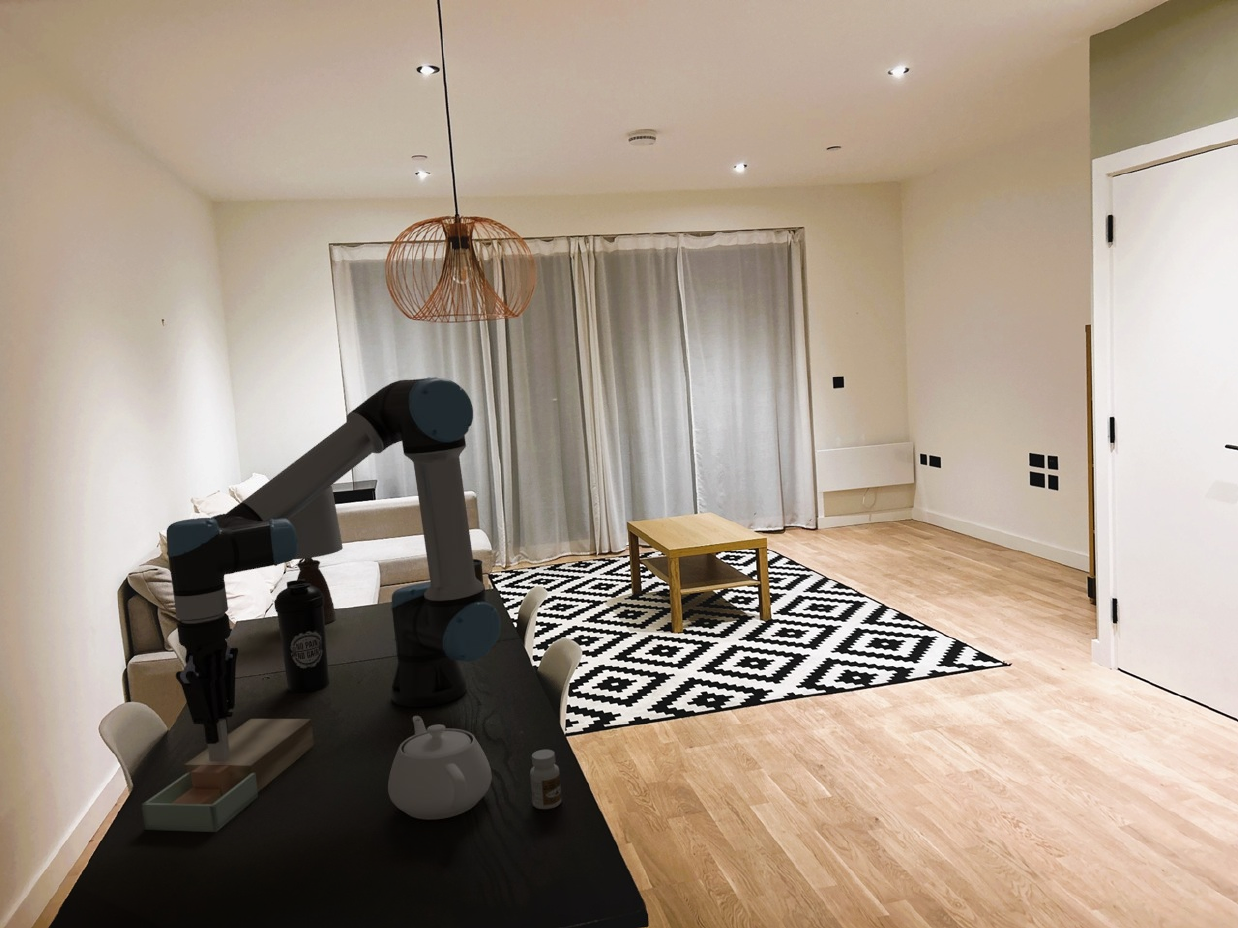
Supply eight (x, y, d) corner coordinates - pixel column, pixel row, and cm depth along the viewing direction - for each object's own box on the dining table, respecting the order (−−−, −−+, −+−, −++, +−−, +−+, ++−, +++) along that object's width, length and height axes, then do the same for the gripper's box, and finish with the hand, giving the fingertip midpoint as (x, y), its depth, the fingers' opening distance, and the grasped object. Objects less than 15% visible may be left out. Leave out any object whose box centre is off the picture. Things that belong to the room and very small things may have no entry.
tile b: (199, 804, 138) (201, 820, 138) (220, 788, 143) (221, 804, 143) (170, 803, 139) (172, 819, 139) (191, 788, 144) (193, 803, 144)
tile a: (229, 765, 145) (219, 772, 143) (232, 795, 146) (223, 802, 143) (200, 765, 146) (190, 772, 144) (204, 794, 147) (194, 802, 144)
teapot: (516, 821, 133) (510, 740, 132) (410, 851, 126) (403, 766, 125) (464, 760, 155) (459, 690, 154) (372, 783, 148) (366, 710, 147)
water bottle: (287, 697, 192) (275, 591, 190) (281, 684, 201) (269, 582, 199) (337, 687, 197) (325, 582, 194) (328, 674, 206) (317, 574, 203)
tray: (258, 796, 147) (255, 772, 146) (216, 831, 136) (213, 806, 135) (191, 795, 149) (188, 771, 148) (145, 829, 138) (141, 804, 138)
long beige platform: (313, 745, 166) (311, 718, 165) (254, 794, 147) (250, 765, 147) (254, 744, 168) (250, 718, 167) (187, 793, 149) (184, 764, 149)
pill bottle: (550, 812, 135) (546, 762, 134) (526, 806, 137) (522, 757, 136) (567, 799, 138) (563, 750, 137) (544, 794, 141) (540, 745, 140)
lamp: (363, 613, 257) (350, 484, 253) (317, 633, 240) (302, 494, 236) (312, 610, 265) (299, 484, 261) (264, 629, 248) (248, 495, 244)
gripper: (206, 605, 151) (223, 742, 154) (153, 629, 139) (172, 777, 141) (247, 605, 150) (263, 742, 153) (197, 628, 137) (216, 778, 140)
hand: (220, 759), depth 147 cm, fingers closed
